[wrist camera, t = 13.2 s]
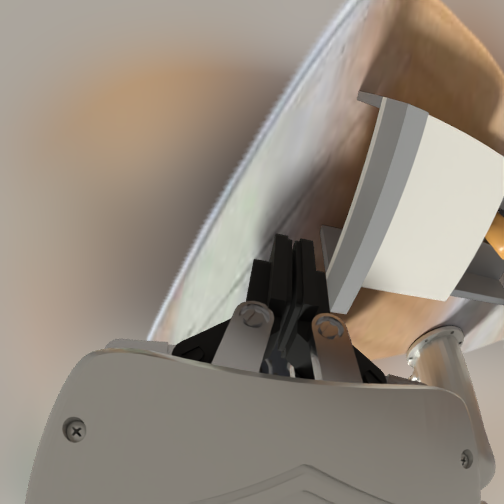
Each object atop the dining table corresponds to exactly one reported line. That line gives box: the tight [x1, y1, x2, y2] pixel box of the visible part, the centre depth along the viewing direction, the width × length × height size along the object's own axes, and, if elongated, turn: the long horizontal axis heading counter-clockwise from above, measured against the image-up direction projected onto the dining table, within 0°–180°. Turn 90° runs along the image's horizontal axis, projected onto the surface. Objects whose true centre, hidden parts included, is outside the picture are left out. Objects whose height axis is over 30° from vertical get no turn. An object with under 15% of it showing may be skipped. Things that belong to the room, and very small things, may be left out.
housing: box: [320, 91, 504, 305], centre depth 25 cm, size 17×30×8 cm, turn 82°
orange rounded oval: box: [485, 211, 504, 260], centre depth 25 cm, size 4×4×7 cm
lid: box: [326, 97, 504, 314], centre depth 20 cm, size 17×15×5 cm
